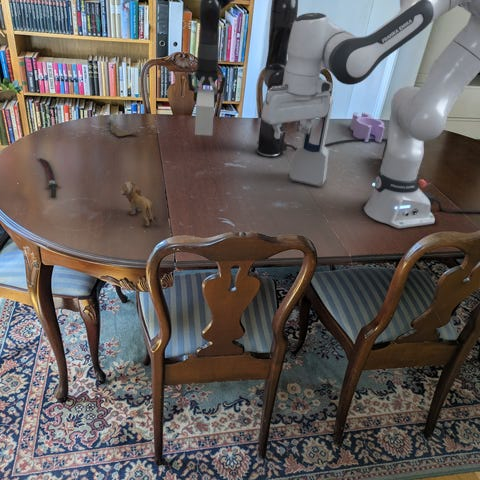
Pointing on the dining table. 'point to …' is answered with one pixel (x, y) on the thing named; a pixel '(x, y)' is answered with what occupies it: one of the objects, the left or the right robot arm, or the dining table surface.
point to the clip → (367, 127)
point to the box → (204, 112)
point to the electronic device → (312, 157)
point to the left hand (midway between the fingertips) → (205, 102)
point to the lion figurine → (137, 201)
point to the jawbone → (119, 132)
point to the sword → (52, 181)
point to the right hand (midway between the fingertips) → (291, 135)
